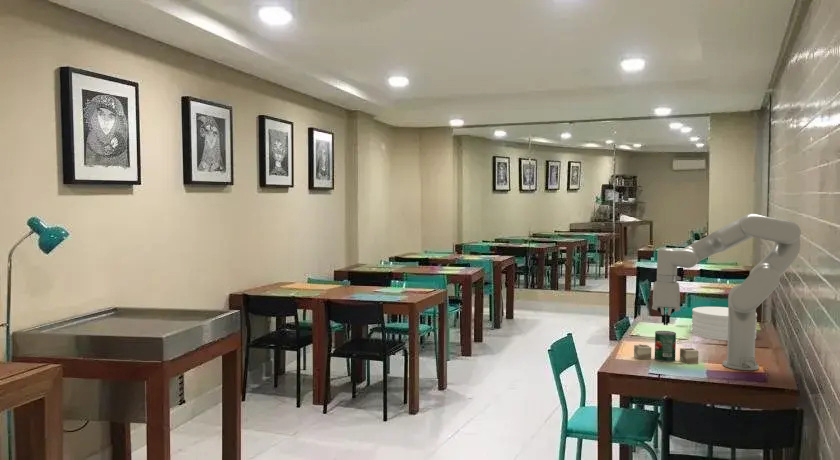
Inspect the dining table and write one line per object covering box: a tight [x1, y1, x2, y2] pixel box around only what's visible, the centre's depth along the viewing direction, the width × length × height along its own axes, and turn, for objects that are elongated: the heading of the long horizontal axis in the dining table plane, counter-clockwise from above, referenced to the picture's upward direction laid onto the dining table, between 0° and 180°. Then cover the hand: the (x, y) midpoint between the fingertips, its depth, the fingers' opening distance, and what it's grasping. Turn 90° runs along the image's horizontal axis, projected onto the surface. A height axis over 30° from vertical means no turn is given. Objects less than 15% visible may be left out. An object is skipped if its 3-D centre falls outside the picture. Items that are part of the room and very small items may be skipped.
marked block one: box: [679, 347, 700, 364], centre depth 259 cm, size 5×5×5 cm
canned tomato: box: [654, 330, 677, 363], centre depth 262 cm, size 8×8×11 cm
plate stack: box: [691, 306, 758, 342], centre depth 313 cm, size 28×28×12 cm
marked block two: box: [633, 344, 652, 361], centre depth 264 cm, size 5×5×5 cm
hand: (665, 324), depth 262 cm, fingers closed
